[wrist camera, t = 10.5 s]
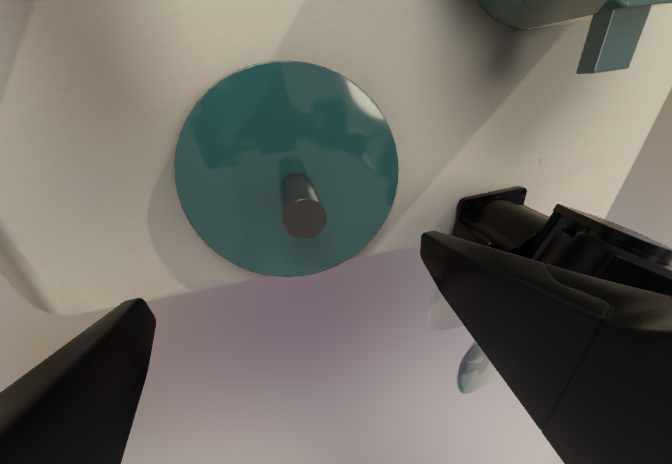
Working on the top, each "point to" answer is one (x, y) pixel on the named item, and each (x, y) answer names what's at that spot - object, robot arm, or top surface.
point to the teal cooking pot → (578, 5)
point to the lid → (286, 168)
